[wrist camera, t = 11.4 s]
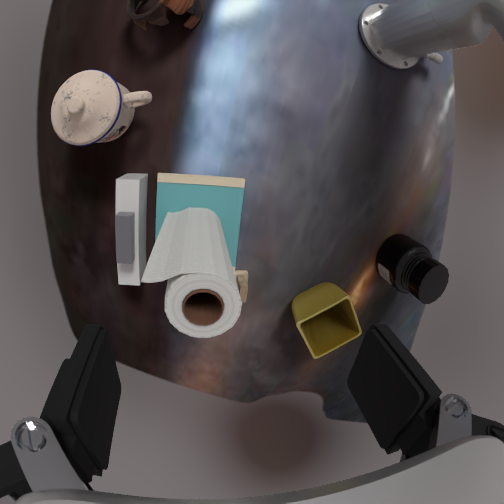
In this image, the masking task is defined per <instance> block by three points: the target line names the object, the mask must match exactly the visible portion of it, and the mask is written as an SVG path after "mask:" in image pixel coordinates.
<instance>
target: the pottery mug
mask: <svg viewBox="0 0 504 504" xmlns="http://www.w3.org/2000/svg"><path fill="white" fill-rule="evenodd" d="M140 1H146V0H128V2H127V5H126V11H127V15H128V16H129V17H130V18H131V19H133V22H134V23H135V24H136V25H138V26H139V27H141V28H142V29H144V30H146V31H147V30H148V28H147V23H148V22H149V23H151V24H154V25H160V26H163V25H166V24H168V23H169V21H168V20H167V19H166V8H169V9H170V10H172V11H173V12H174V13H175V14H177V15H178V14H179V15H182V14H184V13H185V12H187V13H191V14H192V15H191V16H190V18H189V19H188V20H187V21H186V22H185V23H184V26H185V27H187V28H189V29H192V28H193V27H195V26H196V24H197V23H198V22H199V20H200V19H201V17H202V15H203V11H204V6H203V3H202V1H201V0H159V2H158V3H157V4H156V5H155V6H154V7H153V8H152V9H150V10H149V11H147V12H146V13H144V14H141V15H136V14H135V9H136V7H137V5H138V3H139V2H140Z"/></svg>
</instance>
